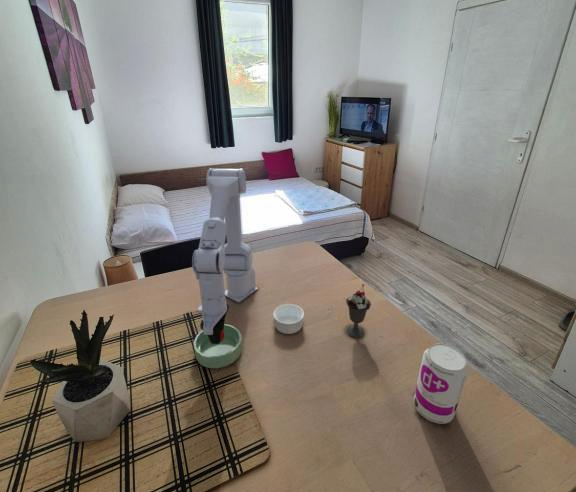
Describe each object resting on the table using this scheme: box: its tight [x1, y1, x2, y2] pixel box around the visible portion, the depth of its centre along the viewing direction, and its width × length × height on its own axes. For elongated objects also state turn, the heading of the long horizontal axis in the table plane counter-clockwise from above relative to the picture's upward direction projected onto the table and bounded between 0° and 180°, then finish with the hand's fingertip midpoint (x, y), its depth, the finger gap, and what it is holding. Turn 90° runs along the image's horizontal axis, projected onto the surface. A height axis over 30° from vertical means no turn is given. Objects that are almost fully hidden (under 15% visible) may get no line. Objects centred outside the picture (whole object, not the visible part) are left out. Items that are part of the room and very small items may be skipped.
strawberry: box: [220, 330, 224, 342], centre depth 83 cm, size 4×4×4 cm
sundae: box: [345, 283, 372, 339], centre depth 90 cm, size 7×7×15 cm
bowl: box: [193, 323, 243, 369], centre depth 85 cm, size 12×12×4 cm
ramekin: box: [272, 303, 305, 335], centre depth 94 cm, size 9×9×4 cm
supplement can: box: [413, 342, 469, 425], centre depth 68 cm, size 8×8×15 cm
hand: (217, 336), depth 84 cm, fingers closed on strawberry, 3 cm apart
